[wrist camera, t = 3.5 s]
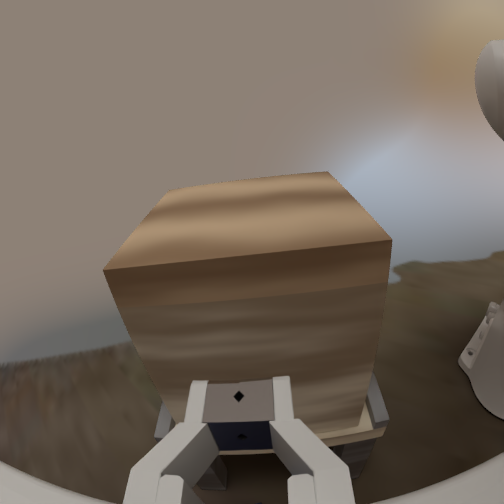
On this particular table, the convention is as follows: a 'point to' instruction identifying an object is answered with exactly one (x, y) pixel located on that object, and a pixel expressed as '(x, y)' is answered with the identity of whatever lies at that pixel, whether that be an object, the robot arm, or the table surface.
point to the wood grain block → (258, 292)
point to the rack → (344, 440)
